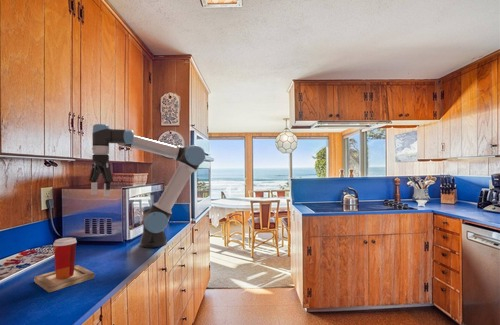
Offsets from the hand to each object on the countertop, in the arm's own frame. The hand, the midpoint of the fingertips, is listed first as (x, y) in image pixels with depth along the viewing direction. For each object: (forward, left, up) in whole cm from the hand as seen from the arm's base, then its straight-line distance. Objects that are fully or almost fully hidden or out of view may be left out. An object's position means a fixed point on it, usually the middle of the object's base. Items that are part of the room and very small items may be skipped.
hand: (100, 195), depth 139 cm
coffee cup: (+22, +17, -30) cm, 41 cm away
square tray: (+22, +17, -32) cm, 42 cm away
